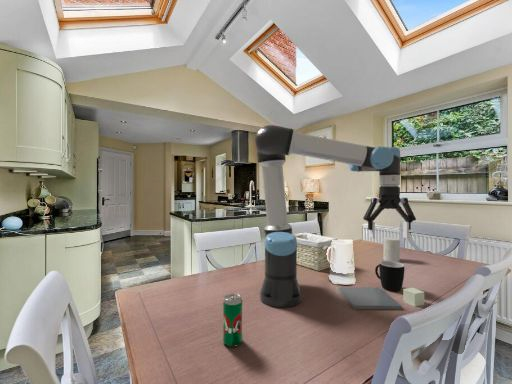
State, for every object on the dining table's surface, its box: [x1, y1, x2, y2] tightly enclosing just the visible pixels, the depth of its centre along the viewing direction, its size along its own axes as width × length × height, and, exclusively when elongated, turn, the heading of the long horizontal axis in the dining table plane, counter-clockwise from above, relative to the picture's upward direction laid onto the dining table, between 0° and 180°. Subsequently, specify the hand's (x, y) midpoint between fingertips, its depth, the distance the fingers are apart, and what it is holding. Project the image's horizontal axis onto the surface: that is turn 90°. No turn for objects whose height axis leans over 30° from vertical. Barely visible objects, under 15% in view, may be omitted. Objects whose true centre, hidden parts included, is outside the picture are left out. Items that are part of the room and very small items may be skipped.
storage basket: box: [292, 232, 338, 271], centre depth 137 cm, size 24×16×15 cm
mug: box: [374, 260, 405, 293], centre depth 105 cm, size 12×9×10 cm
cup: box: [382, 236, 401, 263], centre depth 145 cm, size 8×8×12 cm
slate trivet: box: [338, 286, 403, 310], centre depth 95 cm, size 16×16×1 cm
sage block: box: [402, 287, 425, 307], centre depth 91 cm, size 4×4×4 cm
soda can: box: [222, 293, 243, 347], centre depth 68 cm, size 5×5×12 cm
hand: (389, 238), depth 105 cm, fingers open, 13 cm apart
